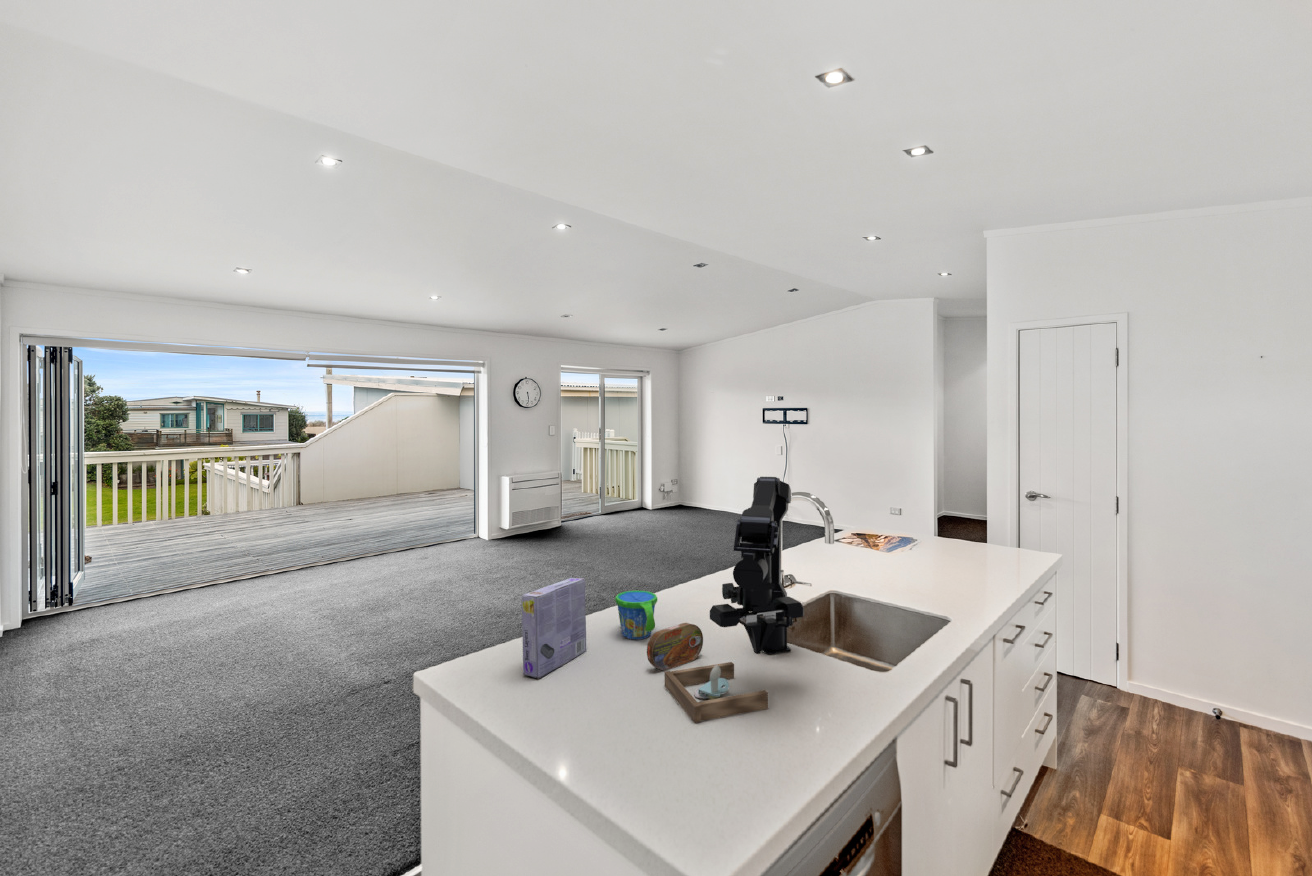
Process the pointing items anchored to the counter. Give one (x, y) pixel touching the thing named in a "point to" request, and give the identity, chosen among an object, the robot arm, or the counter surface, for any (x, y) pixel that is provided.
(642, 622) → the snack cup
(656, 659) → the tin
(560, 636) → the cake pan box
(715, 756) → the counter surface
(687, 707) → the walnut bay
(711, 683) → the pacifier
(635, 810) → the counter surface
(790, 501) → the robot arm
